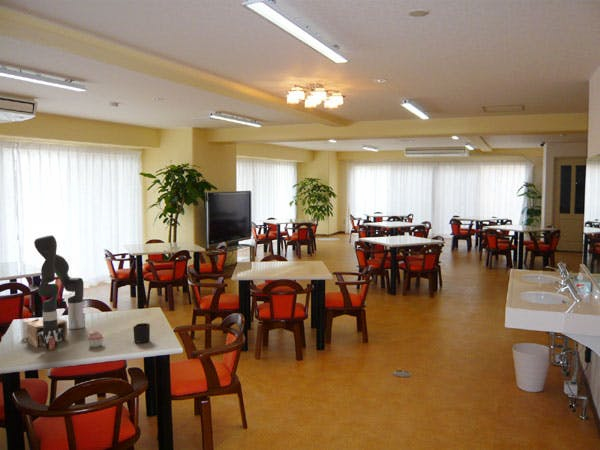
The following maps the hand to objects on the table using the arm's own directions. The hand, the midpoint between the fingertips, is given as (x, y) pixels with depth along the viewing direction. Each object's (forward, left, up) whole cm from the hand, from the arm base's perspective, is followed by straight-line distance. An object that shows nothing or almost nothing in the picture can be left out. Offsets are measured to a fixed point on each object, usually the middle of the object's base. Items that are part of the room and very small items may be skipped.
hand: (51, 348), depth 301 cm
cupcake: (-20, +12, -1) cm, 24 cm away
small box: (-1, -37, -1) cm, 37 cm away
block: (-9, -17, -1) cm, 19 cm away
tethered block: (0, -7, -1) cm, 7 cm away
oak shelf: (-4, -18, -1) cm, 19 cm away
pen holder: (-43, +24, -1) cm, 50 cm away
